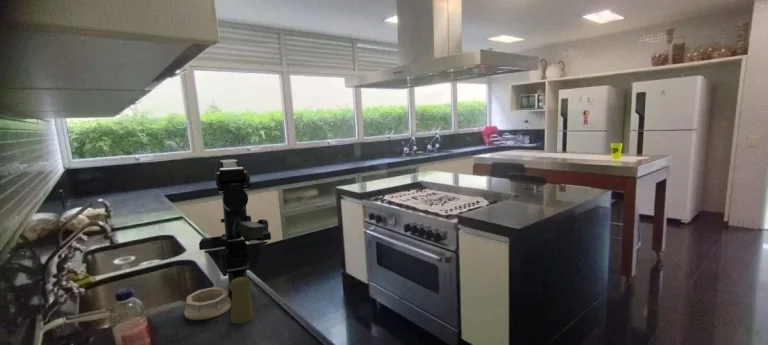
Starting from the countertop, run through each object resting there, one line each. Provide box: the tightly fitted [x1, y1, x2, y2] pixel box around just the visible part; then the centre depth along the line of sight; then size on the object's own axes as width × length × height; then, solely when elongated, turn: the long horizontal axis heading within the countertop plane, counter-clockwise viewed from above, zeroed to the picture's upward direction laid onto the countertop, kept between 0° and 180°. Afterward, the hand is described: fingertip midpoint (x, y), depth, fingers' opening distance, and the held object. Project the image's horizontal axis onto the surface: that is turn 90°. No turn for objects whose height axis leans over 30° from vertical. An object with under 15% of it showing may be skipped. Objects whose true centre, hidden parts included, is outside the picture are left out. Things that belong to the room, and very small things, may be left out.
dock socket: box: [183, 286, 232, 321], centre depth 103 cm, size 12×12×4 cm
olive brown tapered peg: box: [230, 277, 255, 325], centre depth 97 cm, size 6×6×11 cm
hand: (240, 272), depth 96 cm, fingers open, 9 cm apart
